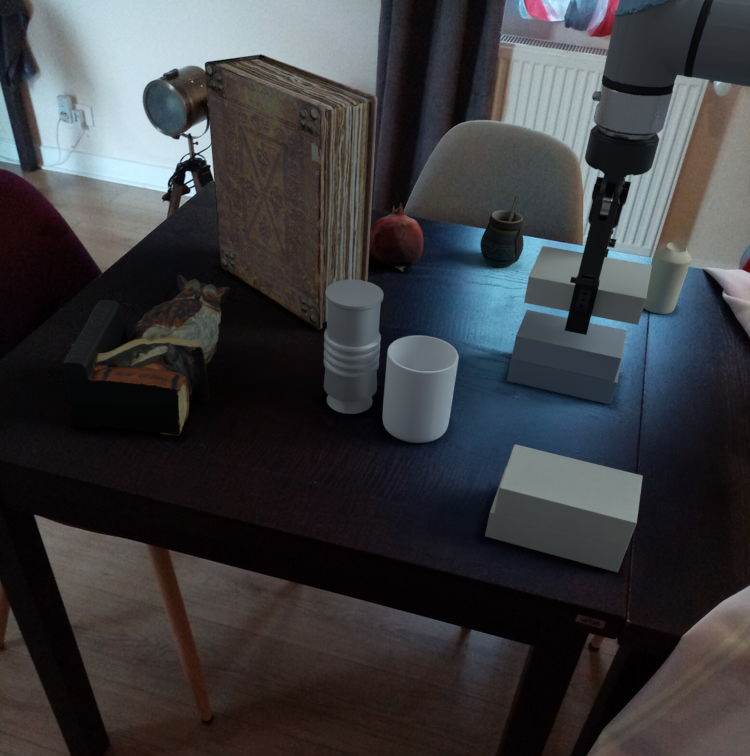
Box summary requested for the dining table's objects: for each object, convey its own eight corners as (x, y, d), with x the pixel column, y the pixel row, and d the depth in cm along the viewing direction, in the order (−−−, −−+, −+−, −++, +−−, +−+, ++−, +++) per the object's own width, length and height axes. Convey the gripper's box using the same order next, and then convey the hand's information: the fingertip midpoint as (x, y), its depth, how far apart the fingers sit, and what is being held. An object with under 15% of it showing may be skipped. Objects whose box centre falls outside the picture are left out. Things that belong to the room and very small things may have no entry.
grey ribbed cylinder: (339, 380, 104) (342, 274, 94) (385, 395, 102) (394, 289, 92) (312, 404, 99) (313, 296, 89) (360, 422, 97) (366, 312, 87)
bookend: (55, 368, 86) (117, 250, 103) (80, 440, 94) (134, 319, 111) (188, 374, 86) (228, 255, 103) (202, 446, 94) (237, 324, 111)
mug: (389, 387, 103) (395, 316, 97) (451, 394, 103) (462, 324, 96) (377, 440, 94) (383, 367, 88) (445, 449, 94) (456, 376, 87)
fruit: (405, 281, 127) (410, 221, 120) (356, 265, 130) (359, 205, 124) (432, 262, 133) (439, 203, 126) (385, 247, 136) (389, 189, 130)
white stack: (624, 523, 86) (643, 474, 81) (617, 572, 80) (636, 523, 75) (500, 490, 89) (511, 441, 84) (484, 536, 83) (495, 486, 78)
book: (366, 312, 118) (379, 97, 98) (319, 331, 113) (322, 107, 93) (266, 253, 132) (259, 52, 112) (220, 267, 127) (204, 60, 107)
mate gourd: (474, 266, 133) (483, 207, 126) (482, 249, 138) (491, 192, 131) (516, 274, 131) (527, 215, 125) (523, 256, 137) (534, 199, 130)
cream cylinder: (649, 315, 123) (669, 254, 116) (633, 299, 127) (651, 239, 120) (680, 313, 124) (701, 253, 118) (663, 297, 128) (682, 238, 121)
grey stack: (616, 374, 109) (630, 330, 104) (610, 405, 103) (624, 359, 99) (518, 353, 112) (527, 308, 107) (506, 381, 106) (516, 335, 102)
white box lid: (644, 290, 102) (651, 264, 99) (638, 325, 94) (646, 298, 92) (537, 270, 105) (542, 245, 102) (523, 302, 97) (528, 276, 95)
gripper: (603, 99, 95) (565, 272, 110) (578, 153, 79) (537, 347, 94) (666, 108, 94) (619, 282, 108) (654, 165, 77) (600, 360, 92)
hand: (581, 312), depth 101 cm, fingers closed on white box lid, 10 cm apart
